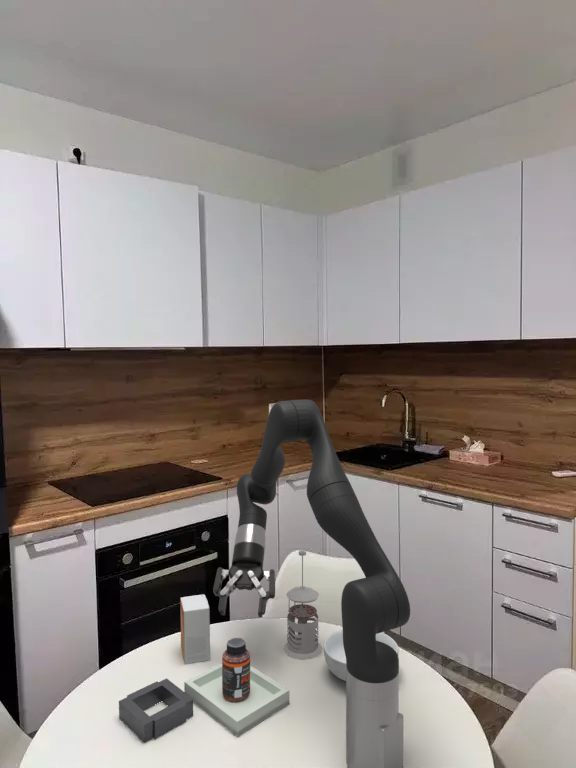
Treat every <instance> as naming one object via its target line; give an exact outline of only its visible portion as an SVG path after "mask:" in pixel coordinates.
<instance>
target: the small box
mask: <svg viewBox="0 0 576 768" xmlns="http://www.w3.org/2000/svg"><path fill="white" fill-rule="evenodd" d="M179 599H180V604H179V605H180V648H181V653H182V658H183V663H184V665H190V664H196V662H197V663H203V662H207V661H211V621H210V619H211V617H210V612H211V611H210V605H209V602H208V599H207V597H206V595H205V594H198V595H197V594H195V595H189V596H183V597H180V598H179Z"/></svg>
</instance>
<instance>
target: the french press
mask: <svg viewBox="0 0 576 768" xmlns="http://www.w3.org/2000/svg"><path fill="white" fill-rule="evenodd" d="M298 555H299V556H301V586H295V587H293V588H292V589H290V590H288V591H287V592H286V594H285V595H286V597H287V599H288V611H287V612H288V614H287V619H286V620H287V621H286V622H287V625H286V627H287V631H286V632H287V633H286V634H287V635H286V636H287V642H286V643H285V644H284V645H283V648H282V649H283V652H284V654H286V655H287V656H288V657H290V658H294V659H295V660H296V659H297V660H309V659H313V658H316V657H318V656H319V655H321V654H322V652H323V647H322V645H321V643H320V642H319V615H318V613H317V612H318V610H317V608H316V607H315V606H313V605H312V604H311V605H310V603H313V602H315V601H317V600H318V598H319V595H320V593H319V592H318V591H317V590H315V589H313V588H312V587H309V586H305V585H304V556H306V555H307V551H306V550H305V549H300V550H299V551H298ZM290 601H291V602H294V604H293V605H292V606H290V604H291V603H290ZM297 603H298V604H297ZM308 603H309V604H308ZM314 617H315V618H314ZM296 619H297V622H296ZM309 621H312V622H309ZM296 633H297V634H296Z"/></svg>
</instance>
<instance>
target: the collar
mask: <svg viewBox="0 0 576 768" xmlns="http://www.w3.org/2000/svg"><path fill="white" fill-rule="evenodd" d="M161 701H163V702H161ZM159 702H160V703H163V704H164V705H165V706H167V705H168V706H167V707H165V708H163V709H160V710H159V711H157V712H156V713H153V714H151V715H150V716H149V714H147V713H146V710H148V709H150V708H152V707H154V706H156V705H158V704H160V703H159ZM157 703H158V704H157ZM155 704H156V705H155ZM144 710H145V711H144ZM193 717H194V702H193V699H192V698H191V697H190V696H189V695H187V694H186V693H185V692H184V690H182V689H181V688H180V687H178V686H177V685H176V684H174V683H173V682H172V681H171V680H169V679H168V678H164V679H162V680H160V681H154V682H153V683H151V684H148V685H147V686H144V687H142V688H140V689H138V690H136V691H134V692H131V693H129V694H127V695H126V697H124V698H123V699H120V700H118V718H119V719H120V721H121V722H122V723H123V724H124V725H126V727H127V728H128V729H129V730H130V731H131V732H132V733H134V735H135V736H137V738H138V739H139V740H140V741H141V742H142V743H143V744H145V743H147V742H149V741H151V740H153V739H154V740H157V739H158V738H160V737H162V736H164V735H166V734H168V733H169V732H171V731H173V730H175V729H176V728H178V727H180V726H182V725H183V724H185V723H187V720H188V719H190V718H193Z"/></svg>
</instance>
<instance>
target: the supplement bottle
mask: <svg viewBox="0 0 576 768" xmlns="http://www.w3.org/2000/svg"><path fill="white" fill-rule="evenodd" d="M246 644H247V643H246V640H245V639H243V638H241V637H233V638H230V639H229V640H227V642H226V649H225V650H224V651H223V653H222V657H221V659H222V662H221V663H222V694H223V697H224V698H225V699H227V700H229V701H235V702H237V701H242V700H244V699H246V698H247V697H248V696H249V694H250V666H251V653H250V651H249V650H248V649H247V645H246Z"/></svg>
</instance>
